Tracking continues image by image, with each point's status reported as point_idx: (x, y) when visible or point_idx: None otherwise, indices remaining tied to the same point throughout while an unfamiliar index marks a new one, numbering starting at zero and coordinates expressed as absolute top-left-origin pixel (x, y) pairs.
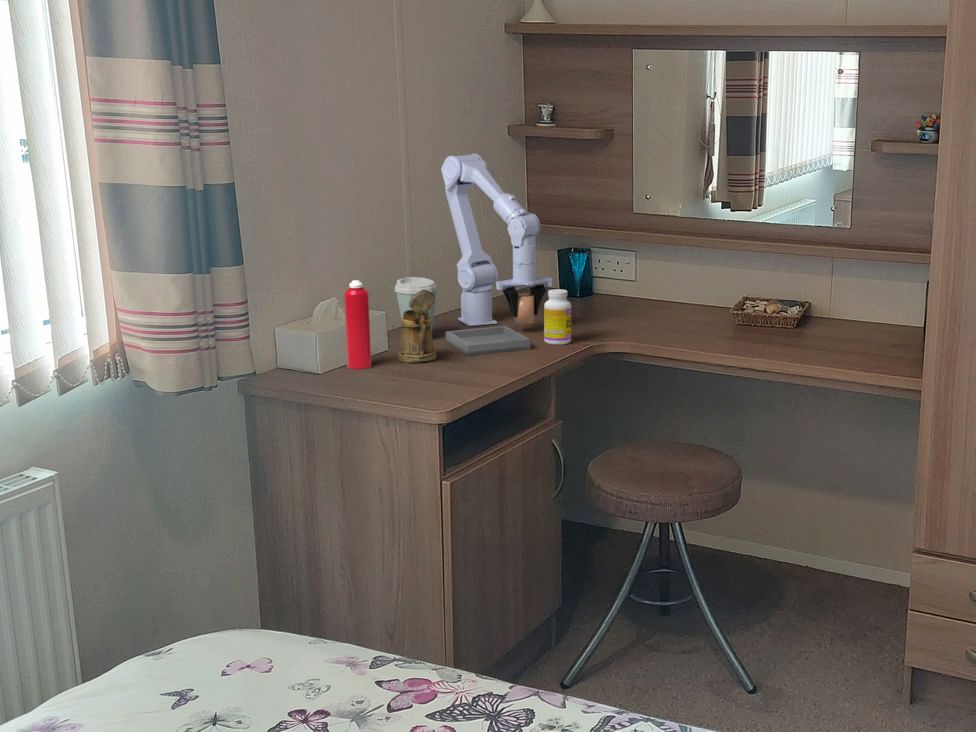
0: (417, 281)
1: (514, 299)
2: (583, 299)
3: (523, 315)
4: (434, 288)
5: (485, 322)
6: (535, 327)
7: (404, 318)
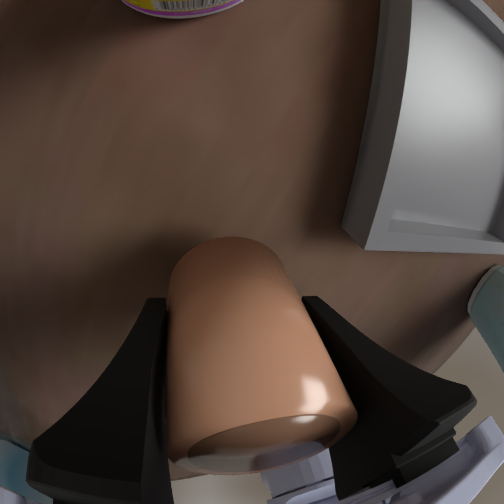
0: None
1: (401, 373)
2: (6, 434)
3: (278, 277)
4: None
5: None
6: (136, 310)
7: None
